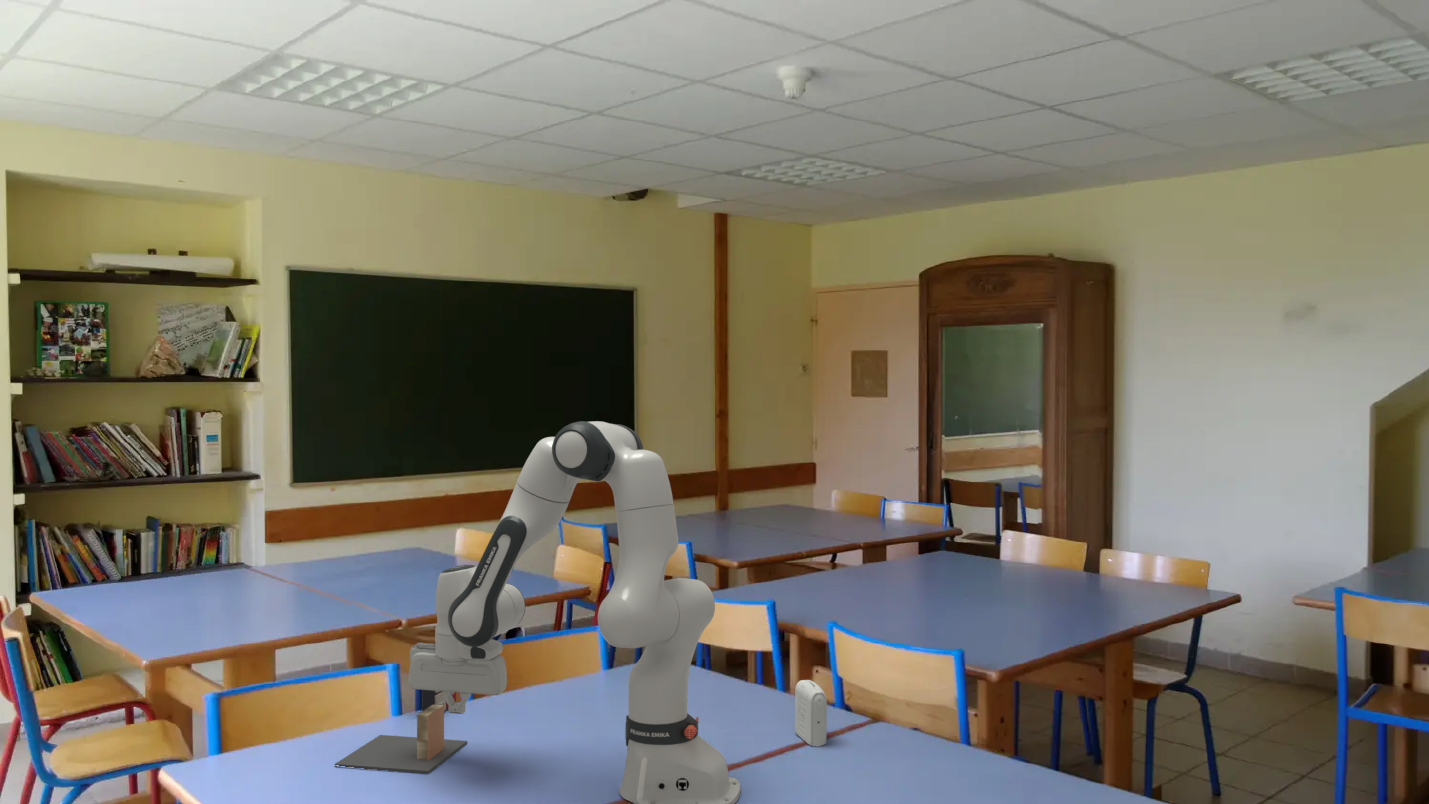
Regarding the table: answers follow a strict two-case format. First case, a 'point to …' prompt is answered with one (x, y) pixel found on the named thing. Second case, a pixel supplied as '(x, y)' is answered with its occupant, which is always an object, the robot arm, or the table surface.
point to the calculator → (434, 699)
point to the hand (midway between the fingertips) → (456, 712)
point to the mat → (398, 755)
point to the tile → (430, 732)
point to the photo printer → (810, 713)
